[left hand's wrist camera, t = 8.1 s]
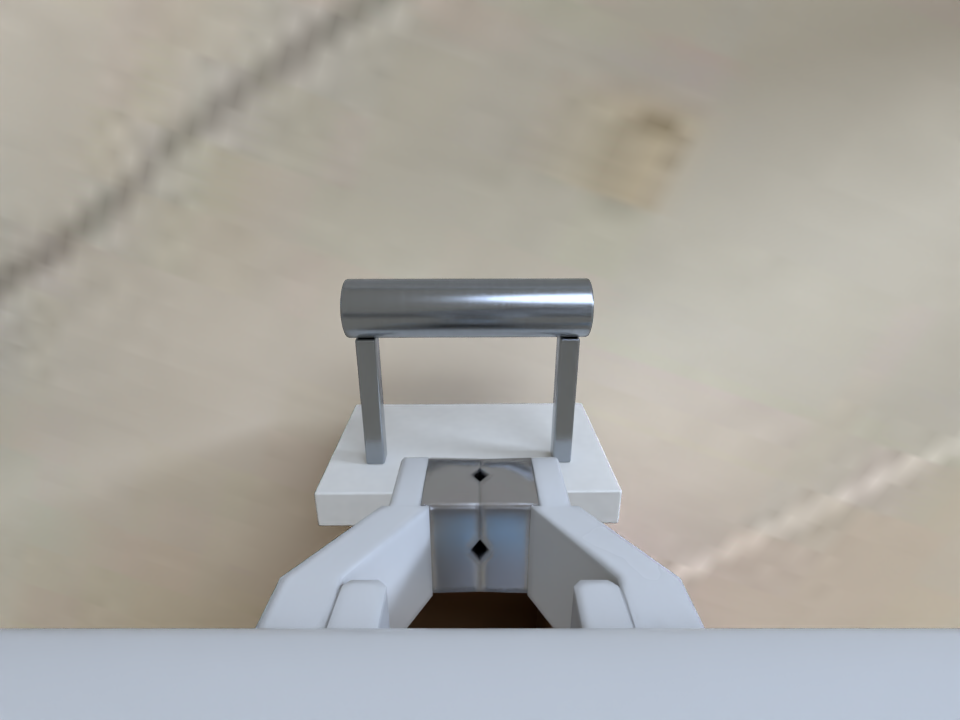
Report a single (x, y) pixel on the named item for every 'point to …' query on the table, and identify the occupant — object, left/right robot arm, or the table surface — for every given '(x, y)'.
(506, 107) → the table surface
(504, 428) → the drawer
